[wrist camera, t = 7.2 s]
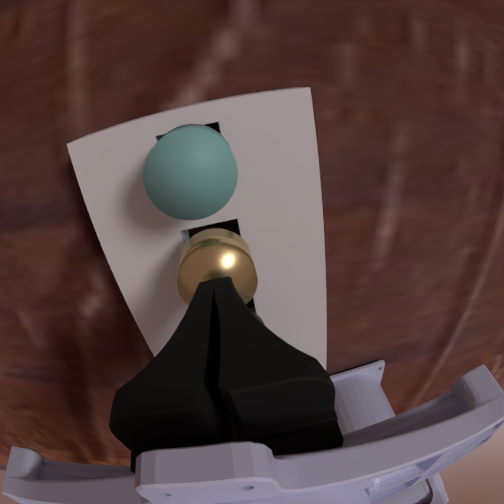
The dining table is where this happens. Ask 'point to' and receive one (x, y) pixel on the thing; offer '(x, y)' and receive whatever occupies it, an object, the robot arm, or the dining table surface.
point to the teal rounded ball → (190, 172)
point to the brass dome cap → (216, 263)
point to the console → (239, 207)
